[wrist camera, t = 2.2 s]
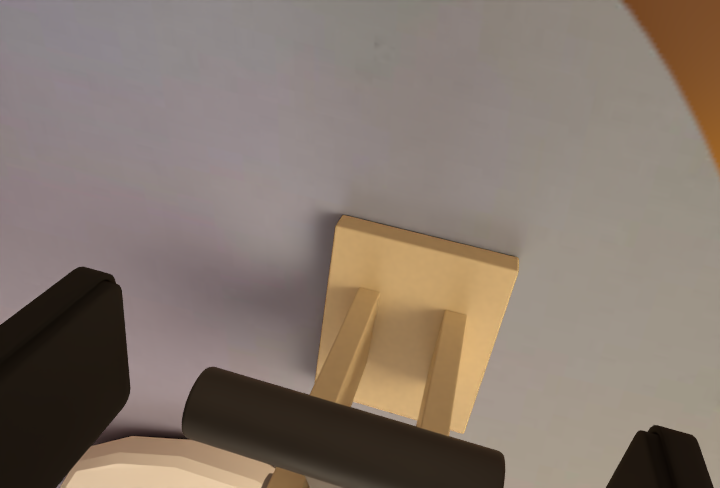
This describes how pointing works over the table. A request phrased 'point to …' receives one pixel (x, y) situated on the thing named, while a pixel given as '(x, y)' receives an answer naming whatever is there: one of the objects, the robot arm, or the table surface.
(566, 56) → the table surface
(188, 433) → the lever
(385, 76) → the table surface
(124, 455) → the decorative plate
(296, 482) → the lever base
